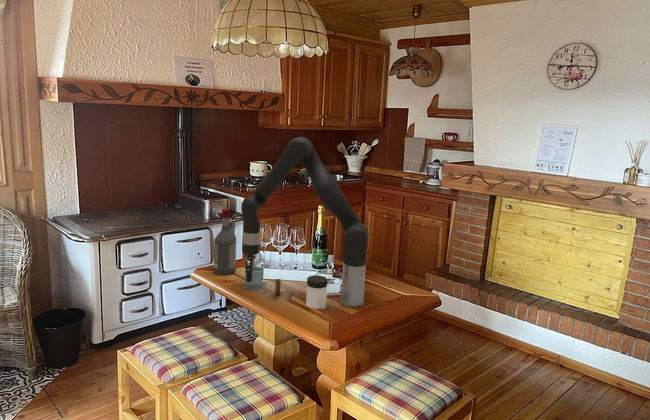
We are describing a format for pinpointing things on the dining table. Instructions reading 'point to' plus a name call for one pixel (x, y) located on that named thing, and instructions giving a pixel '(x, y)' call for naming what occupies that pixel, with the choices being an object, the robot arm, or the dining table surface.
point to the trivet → (255, 286)
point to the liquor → (225, 248)
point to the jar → (316, 292)
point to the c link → (256, 275)
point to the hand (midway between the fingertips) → (249, 278)
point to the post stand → (277, 293)
